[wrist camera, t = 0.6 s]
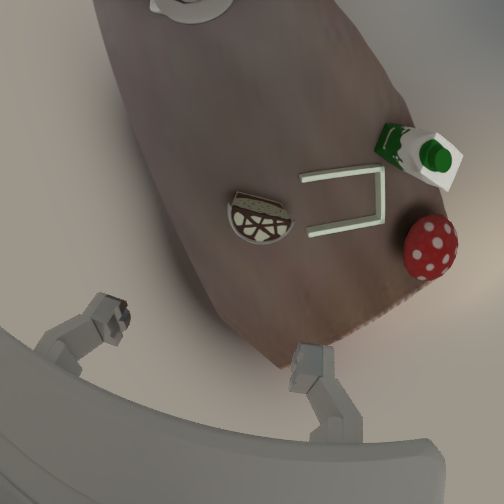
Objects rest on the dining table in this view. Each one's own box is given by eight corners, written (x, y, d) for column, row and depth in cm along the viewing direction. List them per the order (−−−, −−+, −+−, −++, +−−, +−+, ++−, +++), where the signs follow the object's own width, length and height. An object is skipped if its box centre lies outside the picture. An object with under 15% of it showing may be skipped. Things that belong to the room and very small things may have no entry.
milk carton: (383, 117, 46) (444, 129, 29) (413, 137, 48) (474, 157, 31) (368, 153, 50) (423, 178, 33) (399, 170, 52) (456, 201, 35)
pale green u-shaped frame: (298, 174, 53) (301, 177, 50) (378, 163, 52) (384, 166, 49) (306, 231, 59) (308, 237, 56) (379, 218, 58) (384, 223, 55)
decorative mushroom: (376, 252, 62) (404, 288, 49) (399, 193, 55) (437, 219, 42) (420, 261, 65) (449, 293, 52) (442, 209, 57) (478, 235, 44)
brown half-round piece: (222, 216, 56) (219, 238, 48) (229, 189, 54) (227, 206, 45) (278, 230, 59) (285, 253, 50) (287, 204, 56) (297, 223, 47)
